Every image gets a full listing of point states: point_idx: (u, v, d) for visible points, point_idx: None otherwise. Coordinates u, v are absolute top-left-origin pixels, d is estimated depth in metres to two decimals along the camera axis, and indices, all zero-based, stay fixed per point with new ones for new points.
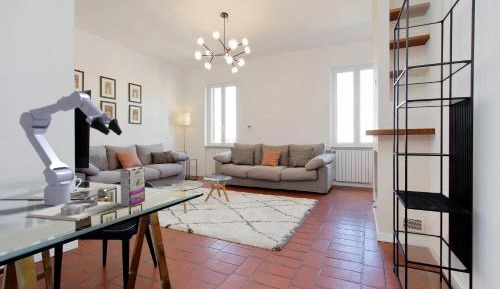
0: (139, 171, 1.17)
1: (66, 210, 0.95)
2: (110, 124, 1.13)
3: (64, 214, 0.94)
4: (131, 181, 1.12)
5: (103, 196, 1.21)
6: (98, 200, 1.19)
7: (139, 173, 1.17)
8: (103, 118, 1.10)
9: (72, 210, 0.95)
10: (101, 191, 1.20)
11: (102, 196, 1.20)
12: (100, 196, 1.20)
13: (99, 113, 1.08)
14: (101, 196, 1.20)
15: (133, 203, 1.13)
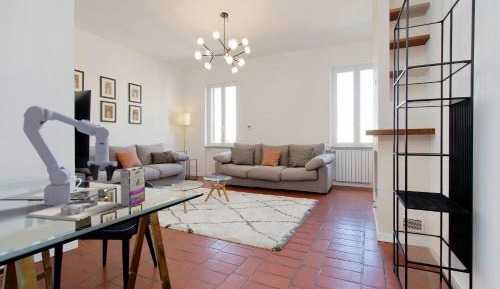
0: (139, 171, 1.17)
1: (66, 210, 0.95)
2: (95, 167, 1.22)
3: (64, 214, 0.94)
4: (131, 181, 1.12)
5: (103, 196, 1.21)
6: (98, 200, 1.19)
7: (139, 173, 1.17)
8: None
9: (72, 210, 0.95)
10: (101, 191, 1.20)
11: (102, 196, 1.20)
12: (100, 196, 1.20)
13: None
14: (101, 196, 1.20)
15: (133, 203, 1.13)
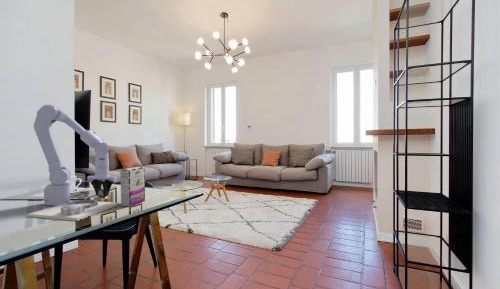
0: (139, 171, 1.17)
1: (66, 210, 0.95)
2: (98, 182, 1.22)
3: (64, 214, 0.94)
4: (131, 181, 1.12)
5: (103, 196, 1.21)
6: (98, 200, 1.19)
7: (139, 173, 1.17)
8: None
9: (72, 210, 0.95)
10: (101, 191, 1.20)
11: (102, 196, 1.20)
12: (100, 196, 1.20)
13: None
14: (101, 196, 1.20)
15: (133, 203, 1.13)
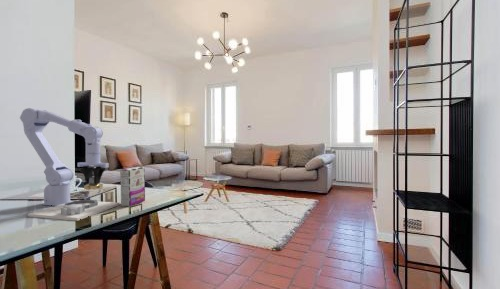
0: (139, 171, 1.17)
1: (66, 210, 0.95)
2: (89, 168, 1.15)
3: (64, 214, 0.94)
4: (131, 181, 1.12)
5: (94, 184, 1.14)
6: (89, 188, 1.12)
7: (139, 173, 1.17)
8: None
9: (72, 210, 0.95)
10: (92, 178, 1.14)
11: (93, 184, 1.14)
12: (91, 184, 1.14)
13: None
14: (92, 184, 1.14)
15: (133, 203, 1.13)
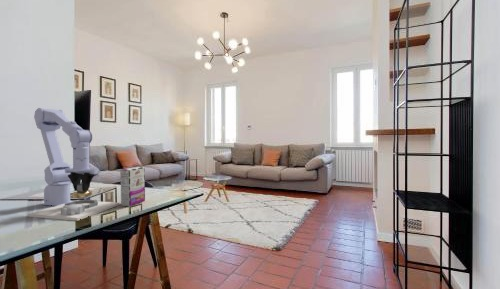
0: (139, 171, 1.17)
1: (66, 210, 0.95)
2: (76, 175, 1.08)
3: (64, 214, 0.94)
4: (131, 181, 1.12)
5: (83, 191, 1.07)
6: (77, 196, 1.05)
7: (139, 173, 1.17)
8: None
9: (72, 210, 0.95)
10: (80, 186, 1.06)
11: (82, 191, 1.06)
12: (79, 191, 1.06)
13: None
14: (80, 191, 1.06)
15: (133, 203, 1.13)
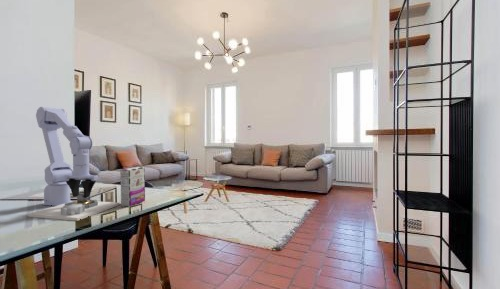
0: (139, 171, 1.17)
1: (66, 210, 0.95)
2: (75, 181, 1.08)
3: (64, 214, 0.94)
4: (131, 181, 1.12)
5: (83, 201, 1.07)
6: None
7: (139, 173, 1.17)
8: None
9: (72, 210, 0.95)
10: (81, 196, 1.06)
11: (82, 201, 1.07)
12: (79, 201, 1.06)
13: None
14: (81, 201, 1.06)
15: (133, 203, 1.13)
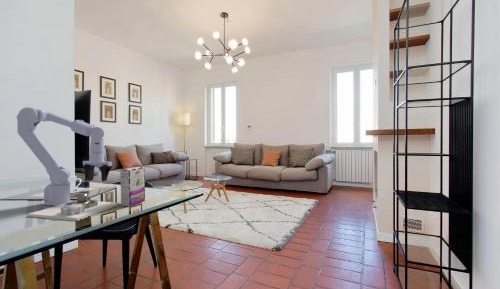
0: (139, 171, 1.17)
1: (66, 210, 0.95)
2: (90, 167, 1.22)
3: (64, 214, 0.94)
4: (131, 181, 1.12)
5: (83, 201, 1.07)
6: None
7: (139, 173, 1.17)
8: None
9: (72, 210, 0.95)
10: (81, 196, 1.06)
11: (82, 201, 1.07)
12: (79, 201, 1.06)
13: None
14: (81, 201, 1.06)
15: (133, 203, 1.13)
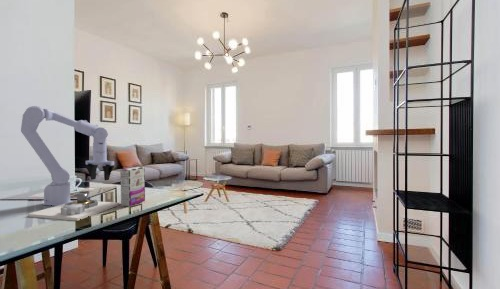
0: (139, 171, 1.17)
1: (66, 210, 0.95)
2: (93, 166, 1.25)
3: (64, 214, 0.94)
4: (131, 181, 1.12)
5: (83, 201, 1.07)
6: None
7: (139, 173, 1.17)
8: None
9: (72, 210, 0.95)
10: (81, 196, 1.06)
11: (82, 201, 1.07)
12: (79, 201, 1.06)
13: None
14: (81, 201, 1.06)
15: (133, 203, 1.13)
